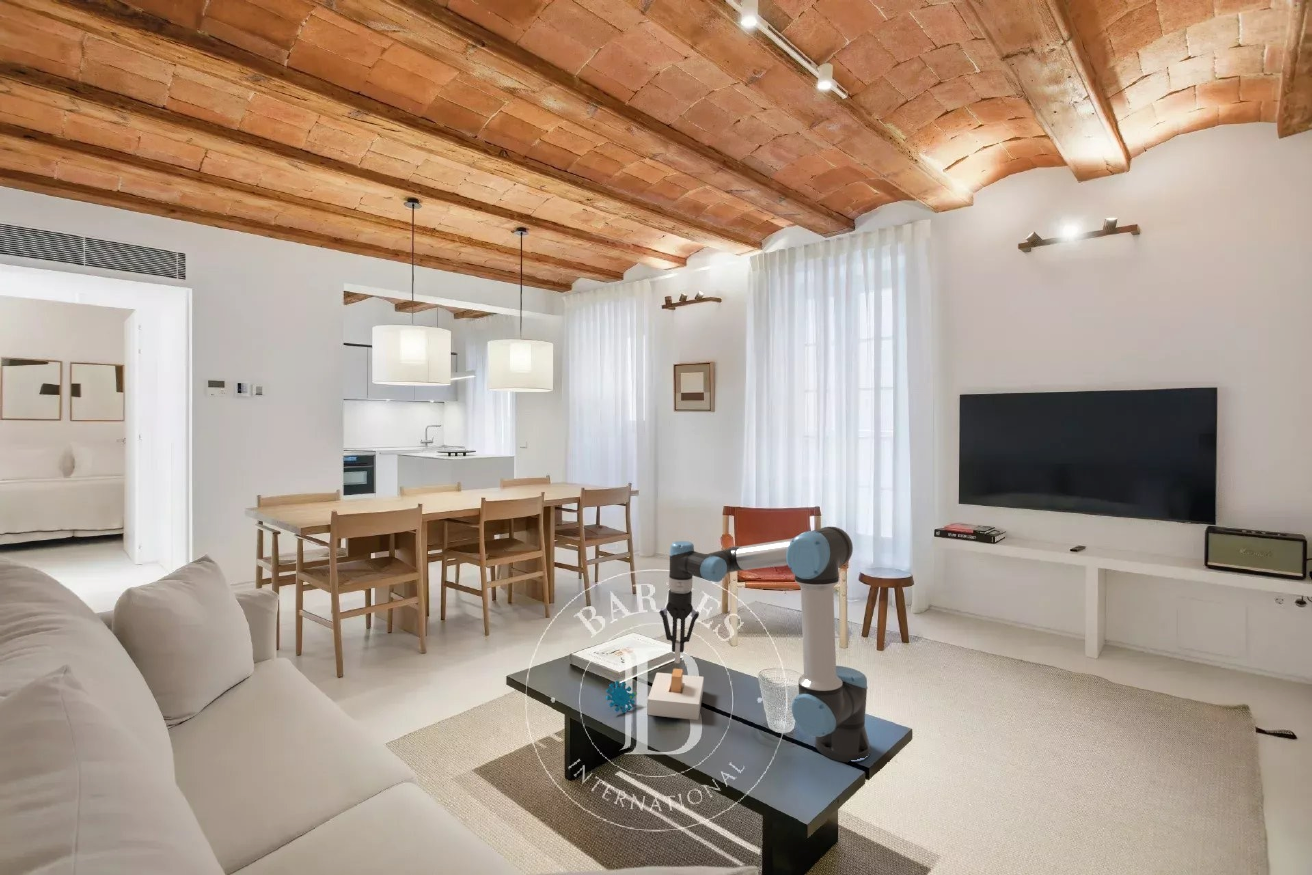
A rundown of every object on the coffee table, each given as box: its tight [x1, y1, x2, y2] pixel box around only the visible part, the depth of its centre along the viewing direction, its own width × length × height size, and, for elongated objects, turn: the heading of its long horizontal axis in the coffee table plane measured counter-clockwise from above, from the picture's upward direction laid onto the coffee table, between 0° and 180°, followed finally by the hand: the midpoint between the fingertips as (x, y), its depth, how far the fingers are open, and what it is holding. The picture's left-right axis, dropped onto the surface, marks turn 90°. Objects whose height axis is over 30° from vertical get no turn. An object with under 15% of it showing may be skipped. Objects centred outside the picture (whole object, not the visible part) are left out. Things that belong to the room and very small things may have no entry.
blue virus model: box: [605, 680, 638, 714], centre depth 212 cm, size 11×6×10 cm
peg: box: [671, 668, 684, 693], centre depth 216 cm, size 3×6×10 cm, turn 172°
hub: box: [646, 672, 705, 721], centre depth 216 cm, size 20×16×5 cm
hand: (677, 661), depth 215 cm, fingers closed
